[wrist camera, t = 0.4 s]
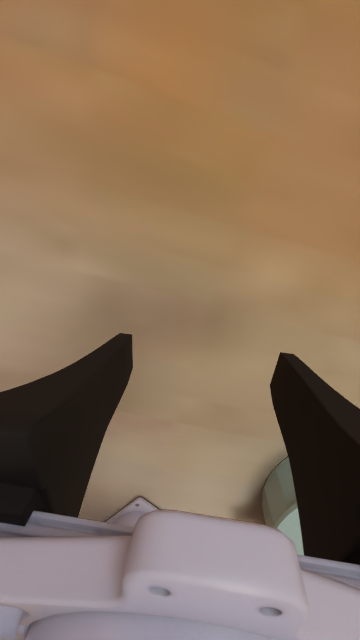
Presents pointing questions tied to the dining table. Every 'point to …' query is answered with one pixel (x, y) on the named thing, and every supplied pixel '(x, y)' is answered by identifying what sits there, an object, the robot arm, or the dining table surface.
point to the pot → (278, 493)
